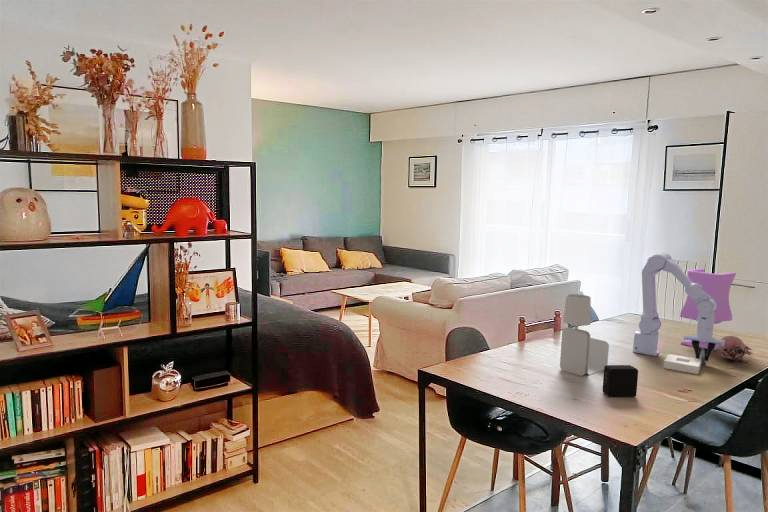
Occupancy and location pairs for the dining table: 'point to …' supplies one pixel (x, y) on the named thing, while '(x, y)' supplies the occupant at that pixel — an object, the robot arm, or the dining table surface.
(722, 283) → the pink table lamp
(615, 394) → the electronic device
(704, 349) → the peg
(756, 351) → the dining table surface
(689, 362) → the socket block
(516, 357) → the dining table surface
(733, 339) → the toy
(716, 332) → the dining table surface
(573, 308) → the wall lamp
